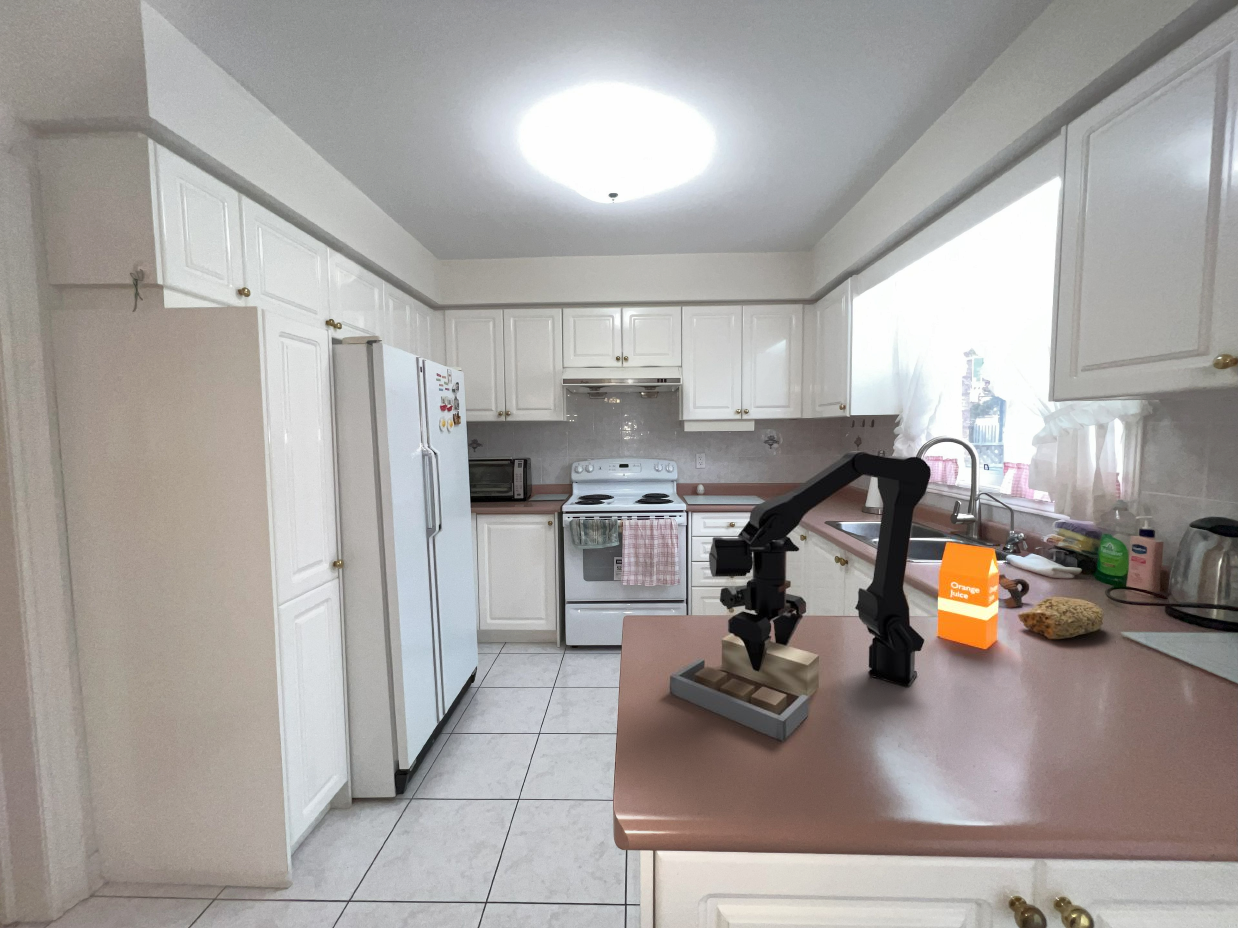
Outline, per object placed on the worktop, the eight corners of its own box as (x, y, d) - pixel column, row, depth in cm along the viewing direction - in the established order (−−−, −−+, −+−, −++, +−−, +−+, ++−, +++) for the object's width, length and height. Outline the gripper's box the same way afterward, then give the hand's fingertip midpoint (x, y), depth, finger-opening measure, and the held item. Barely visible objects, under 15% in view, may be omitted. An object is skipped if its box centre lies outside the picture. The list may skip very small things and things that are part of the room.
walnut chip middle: (754, 704, 81) (754, 686, 80) (742, 714, 78) (742, 695, 78) (732, 695, 83) (732, 678, 83) (720, 705, 80) (720, 687, 80)
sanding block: (818, 689, 85) (819, 655, 85) (807, 700, 82) (807, 665, 81) (735, 661, 96) (735, 631, 96) (721, 670, 92) (721, 638, 92)
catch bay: (808, 715, 77) (808, 696, 77) (783, 741, 70) (783, 720, 70) (699, 674, 91) (699, 658, 90) (670, 692, 84) (670, 675, 84)
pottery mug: (999, 611, 123) (981, 579, 127) (979, 615, 132) (963, 585, 135) (1046, 598, 123) (1027, 566, 127) (1023, 603, 132) (1006, 573, 135)
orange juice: (985, 649, 100) (988, 551, 99) (936, 636, 107) (939, 544, 106) (997, 639, 105) (1000, 546, 104) (949, 627, 112) (952, 539, 111)
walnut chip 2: (786, 713, 78) (786, 694, 78) (775, 724, 75) (775, 705, 75) (762, 704, 81) (762, 686, 80) (750, 714, 78) (751, 695, 77)
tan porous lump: (1069, 653, 101) (1136, 623, 106) (1056, 615, 102) (1124, 587, 107) (1006, 639, 114) (1068, 613, 119) (995, 606, 115) (1058, 581, 120)
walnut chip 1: (727, 690, 85) (727, 673, 85) (714, 699, 82) (714, 681, 82) (707, 682, 88) (707, 666, 88) (694, 691, 85) (694, 674, 85)
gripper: (753, 558, 100) (752, 634, 101) (701, 577, 87) (701, 665, 87) (807, 567, 93) (806, 649, 93) (760, 591, 79) (759, 686, 80)
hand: (768, 661), depth 89 cm, fingers open, 9 cm apart
